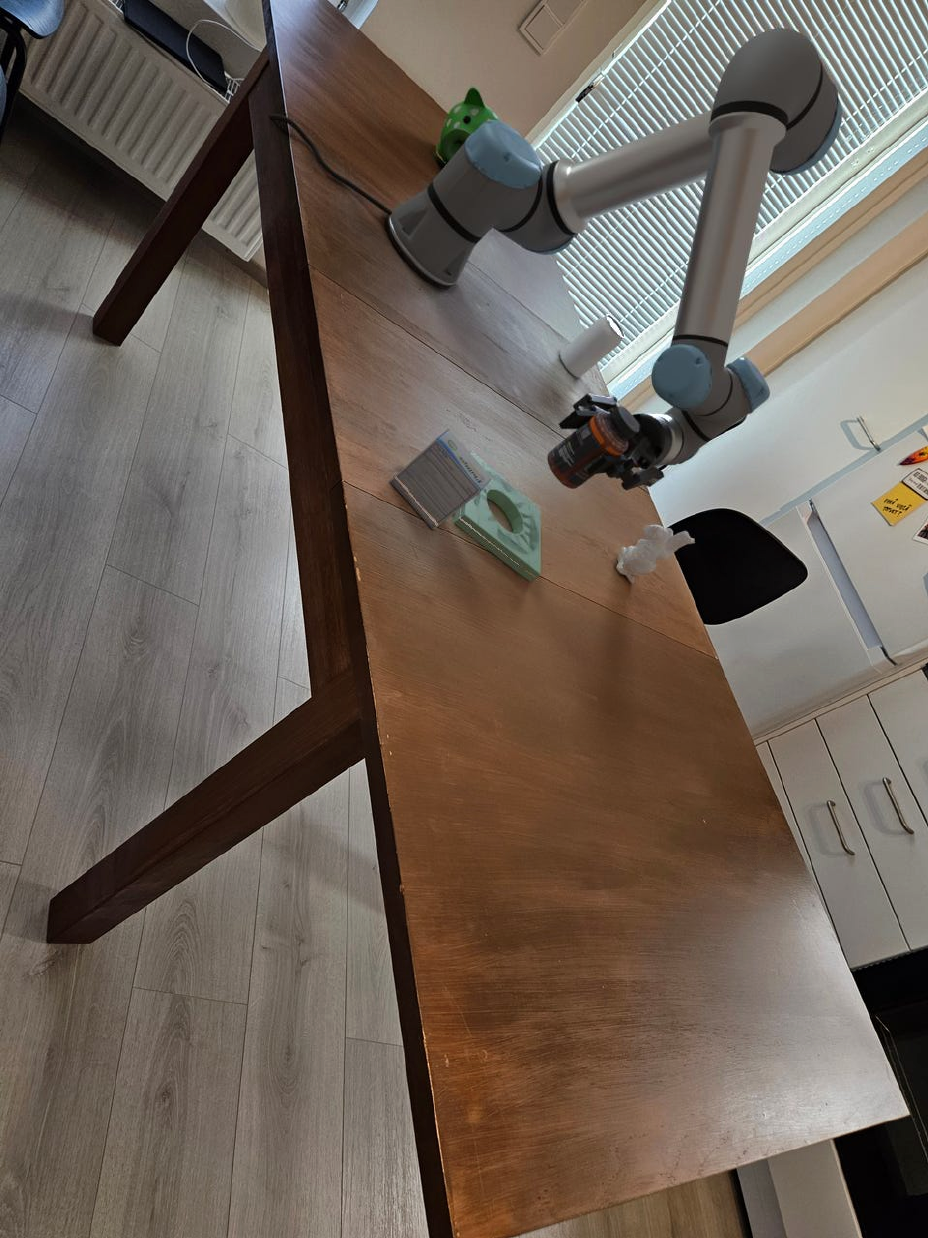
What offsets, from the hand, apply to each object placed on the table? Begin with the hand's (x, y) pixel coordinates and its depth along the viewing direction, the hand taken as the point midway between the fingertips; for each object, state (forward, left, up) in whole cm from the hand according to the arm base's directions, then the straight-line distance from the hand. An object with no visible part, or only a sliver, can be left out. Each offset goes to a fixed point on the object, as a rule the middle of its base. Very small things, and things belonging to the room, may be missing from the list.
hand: (582, 442), depth 96 cm
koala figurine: (+31, +16, -18) cm, 39 cm away
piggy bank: (-17, +105, -18) cm, 107 cm away
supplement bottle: (+3, +4, -7) cm, 8 cm away
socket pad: (+2, +3, -18) cm, 18 cm away
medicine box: (-11, -5, -18) cm, 21 cm away
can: (+20, +69, -18) cm, 74 cm away
